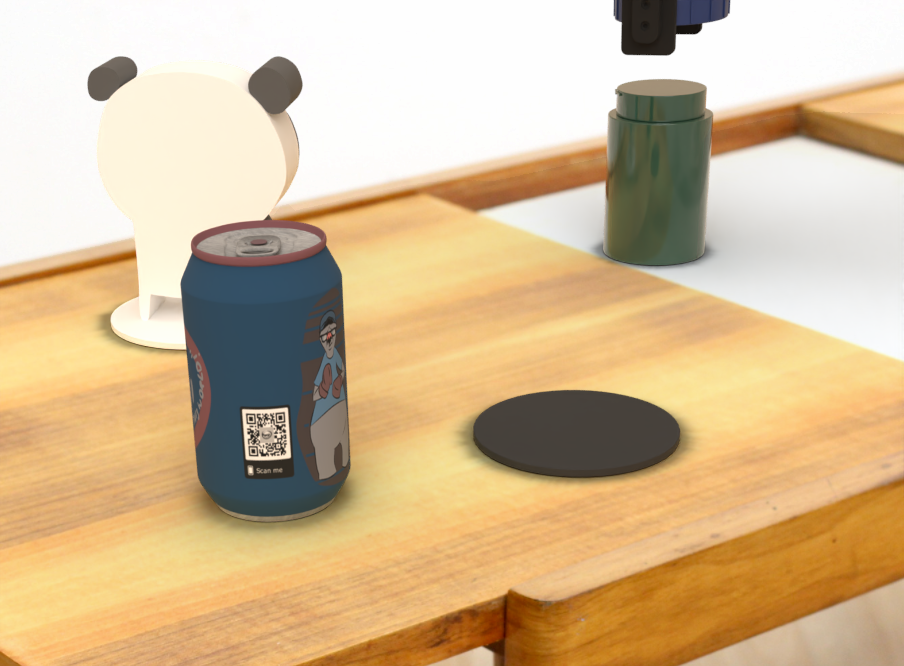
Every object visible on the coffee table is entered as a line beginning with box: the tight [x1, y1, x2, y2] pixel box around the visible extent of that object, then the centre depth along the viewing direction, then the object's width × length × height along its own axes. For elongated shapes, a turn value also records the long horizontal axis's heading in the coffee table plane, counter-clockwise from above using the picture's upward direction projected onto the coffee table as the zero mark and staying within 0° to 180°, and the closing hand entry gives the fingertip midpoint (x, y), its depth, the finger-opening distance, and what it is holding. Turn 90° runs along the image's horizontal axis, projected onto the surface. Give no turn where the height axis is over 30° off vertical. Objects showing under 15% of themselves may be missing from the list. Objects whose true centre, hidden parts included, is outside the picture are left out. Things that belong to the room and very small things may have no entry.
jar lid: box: [613, 0, 731, 26], centre depth 95 cm, size 7×7×2 cm
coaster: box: [472, 389, 681, 478], centre depth 76 cm, size 10×10×1 cm
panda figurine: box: [87, 55, 304, 350], centre depth 90 cm, size 12×11×15 cm
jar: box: [602, 78, 714, 266], centre depth 100 cm, size 7×7×11 cm
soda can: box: [180, 219, 352, 523], centre depth 68 cm, size 7×7×12 cm
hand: (662, 41), depth 96 cm, fingers closed on jar lid, 6 cm apart
